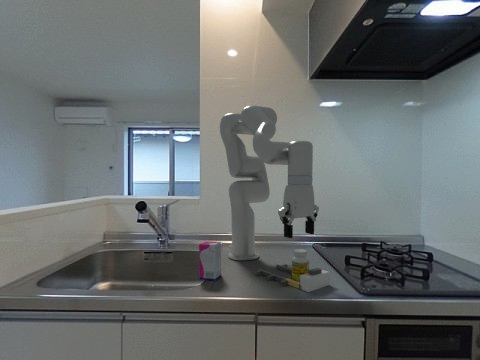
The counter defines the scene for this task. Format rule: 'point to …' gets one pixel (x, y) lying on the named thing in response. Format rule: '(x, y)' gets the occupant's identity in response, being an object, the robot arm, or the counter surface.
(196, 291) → the counter surface
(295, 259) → the supplement bottle
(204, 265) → the supplement box
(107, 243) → the counter surface
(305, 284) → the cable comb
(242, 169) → the robot arm
